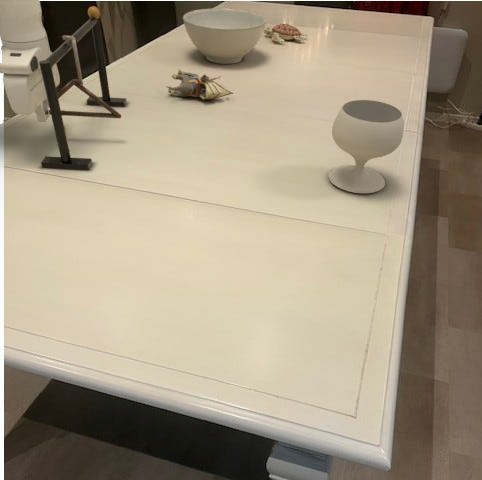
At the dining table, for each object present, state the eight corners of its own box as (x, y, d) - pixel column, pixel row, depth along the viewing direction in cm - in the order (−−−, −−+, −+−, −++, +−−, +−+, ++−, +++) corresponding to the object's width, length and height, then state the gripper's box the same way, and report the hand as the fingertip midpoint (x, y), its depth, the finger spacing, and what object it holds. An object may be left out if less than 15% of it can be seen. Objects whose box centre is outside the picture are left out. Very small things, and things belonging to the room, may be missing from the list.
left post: (124, 106, 129) (112, 8, 114) (87, 104, 129) (70, 6, 114) (126, 102, 131) (115, 6, 116) (90, 100, 131) (73, 3, 116)
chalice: (319, 190, 100) (331, 118, 90) (328, 161, 110) (340, 94, 100) (387, 202, 98) (407, 129, 88) (390, 171, 108) (409, 103, 98)
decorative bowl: (256, 47, 175) (258, 8, 167) (269, 71, 156) (272, 29, 148) (182, 46, 172) (181, 7, 164) (186, 71, 153) (185, 28, 144)
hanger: (121, 119, 110) (110, 38, 98) (37, 114, 110) (17, 33, 98) (122, 117, 110) (111, 37, 99) (39, 113, 110) (19, 32, 99)
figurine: (196, 62, 143) (246, 74, 137) (196, 83, 146) (244, 96, 141) (155, 75, 129) (208, 89, 123) (155, 99, 133) (207, 113, 127)
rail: (88, 170, 103) (69, 65, 89) (42, 167, 103) (14, 62, 89) (125, 104, 130) (114, 17, 116) (88, 102, 130) (73, 14, 116)
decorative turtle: (268, 30, 193) (269, 16, 189) (309, 35, 190) (311, 21, 187) (258, 42, 180) (258, 27, 176) (301, 47, 177) (303, 32, 174)
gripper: (30, 37, 106) (45, 101, 116) (-8, 67, 91) (13, 137, 101) (59, 39, 106) (71, 103, 116) (25, 68, 91) (43, 139, 101)
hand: (44, 119), depth 108 cm, fingers closed
